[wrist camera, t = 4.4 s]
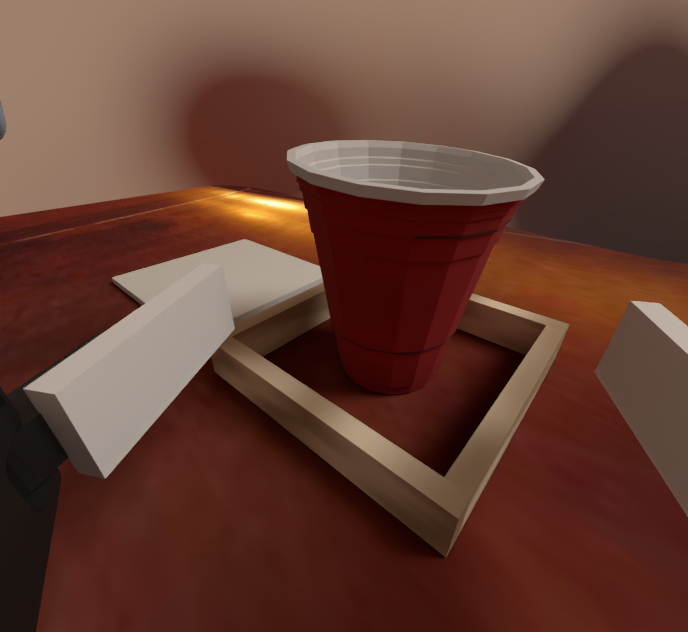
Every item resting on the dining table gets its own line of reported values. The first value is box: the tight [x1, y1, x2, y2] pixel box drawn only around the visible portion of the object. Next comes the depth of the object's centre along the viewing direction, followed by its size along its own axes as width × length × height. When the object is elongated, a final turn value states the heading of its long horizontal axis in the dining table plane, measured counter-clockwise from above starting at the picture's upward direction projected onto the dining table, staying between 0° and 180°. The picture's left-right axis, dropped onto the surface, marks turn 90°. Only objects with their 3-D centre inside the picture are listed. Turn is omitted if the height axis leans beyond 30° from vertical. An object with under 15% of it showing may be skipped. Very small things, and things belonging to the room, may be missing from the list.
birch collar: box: [211, 283, 569, 558], centre depth 20 cm, size 15×15×2 cm
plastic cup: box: [287, 140, 544, 395], centre depth 18 cm, size 11×11×12 cm
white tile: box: [112, 239, 323, 324], centre depth 31 cm, size 14×14×1 cm
